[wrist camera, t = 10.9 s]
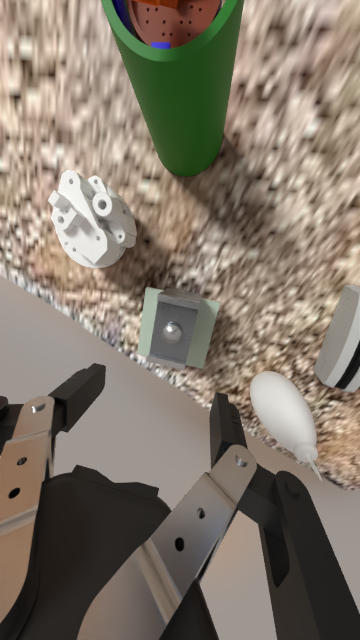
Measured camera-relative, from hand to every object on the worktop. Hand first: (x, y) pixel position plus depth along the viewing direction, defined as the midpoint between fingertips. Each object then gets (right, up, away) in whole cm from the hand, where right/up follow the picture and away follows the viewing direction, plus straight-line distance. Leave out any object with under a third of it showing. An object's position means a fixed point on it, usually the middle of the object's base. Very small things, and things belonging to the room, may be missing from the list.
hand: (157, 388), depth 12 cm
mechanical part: (-11, +20, +19) cm, 30 cm away
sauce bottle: (+19, -7, +23) cm, 31 cm away
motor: (+3, +32, +14) cm, 35 cm away
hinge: (+29, +3, +19) cm, 35 cm away
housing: (+2, +5, +16) cm, 17 cm away
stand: (+1, +4, +22) cm, 22 cm away
